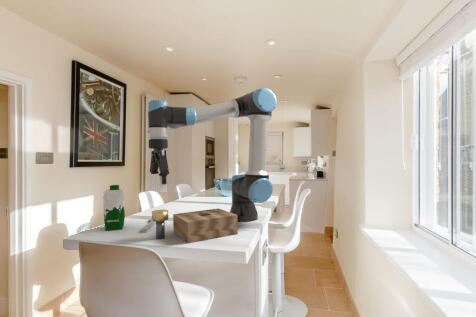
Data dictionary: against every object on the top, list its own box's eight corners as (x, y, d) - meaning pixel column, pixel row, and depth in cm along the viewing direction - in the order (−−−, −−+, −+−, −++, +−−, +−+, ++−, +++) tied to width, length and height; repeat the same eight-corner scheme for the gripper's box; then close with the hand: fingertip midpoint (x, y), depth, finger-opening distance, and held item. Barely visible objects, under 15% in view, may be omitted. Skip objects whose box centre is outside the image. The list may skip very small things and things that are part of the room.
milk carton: (126, 225, 136) (125, 184, 136) (123, 229, 127) (122, 186, 127) (106, 226, 134) (105, 185, 133) (102, 231, 125) (101, 187, 125)
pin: (166, 234, 118) (165, 209, 118) (170, 238, 112) (170, 211, 112) (150, 237, 115) (150, 210, 114) (154, 241, 109) (153, 213, 109)
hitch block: (218, 225, 132) (218, 208, 132) (237, 233, 117) (237, 215, 117) (173, 232, 121) (173, 214, 121) (188, 243, 106) (187, 222, 106)
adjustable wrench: (145, 234, 122) (145, 230, 122) (131, 234, 122) (131, 230, 122) (164, 220, 147) (163, 216, 146) (152, 220, 147) (152, 217, 147)
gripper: (142, 140, 122) (143, 188, 122) (156, 136, 100) (157, 195, 100) (159, 140, 126) (160, 187, 126) (176, 137, 104) (177, 193, 104)
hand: (159, 190), depth 113 cm, fingers open, 13 cm apart
